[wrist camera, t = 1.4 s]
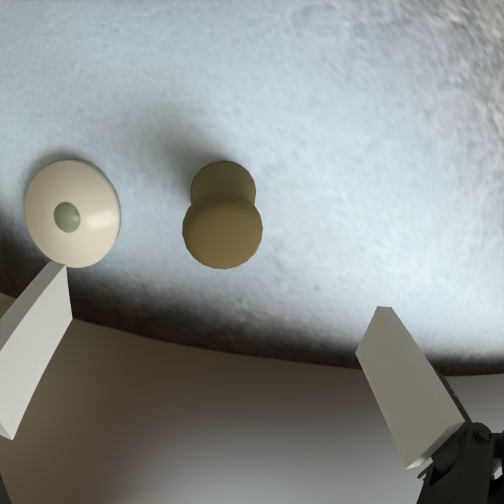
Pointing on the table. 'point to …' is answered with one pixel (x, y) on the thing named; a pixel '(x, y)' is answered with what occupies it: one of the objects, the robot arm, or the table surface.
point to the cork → (222, 216)
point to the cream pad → (72, 212)
